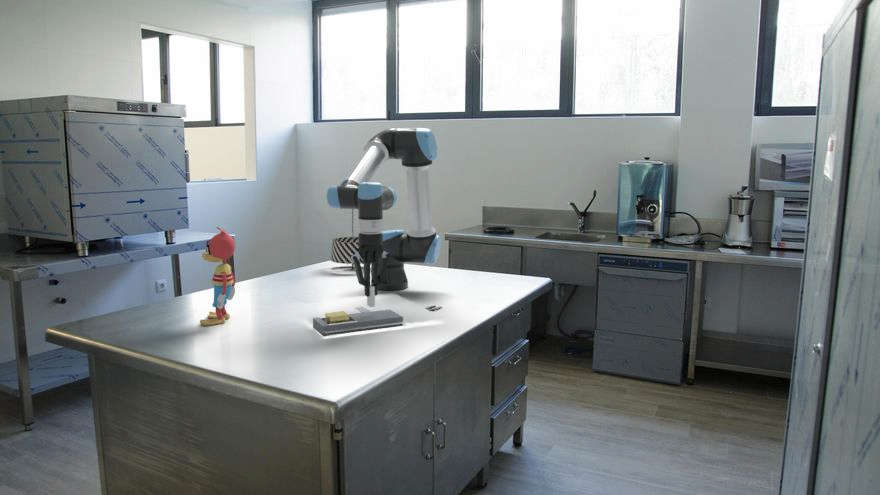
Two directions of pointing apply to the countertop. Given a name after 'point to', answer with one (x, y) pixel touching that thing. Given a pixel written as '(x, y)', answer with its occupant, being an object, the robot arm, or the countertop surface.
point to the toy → (220, 276)
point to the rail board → (359, 322)
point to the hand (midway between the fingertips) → (370, 305)
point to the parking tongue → (362, 309)
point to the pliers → (433, 307)
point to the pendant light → (345, 249)
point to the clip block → (336, 317)
